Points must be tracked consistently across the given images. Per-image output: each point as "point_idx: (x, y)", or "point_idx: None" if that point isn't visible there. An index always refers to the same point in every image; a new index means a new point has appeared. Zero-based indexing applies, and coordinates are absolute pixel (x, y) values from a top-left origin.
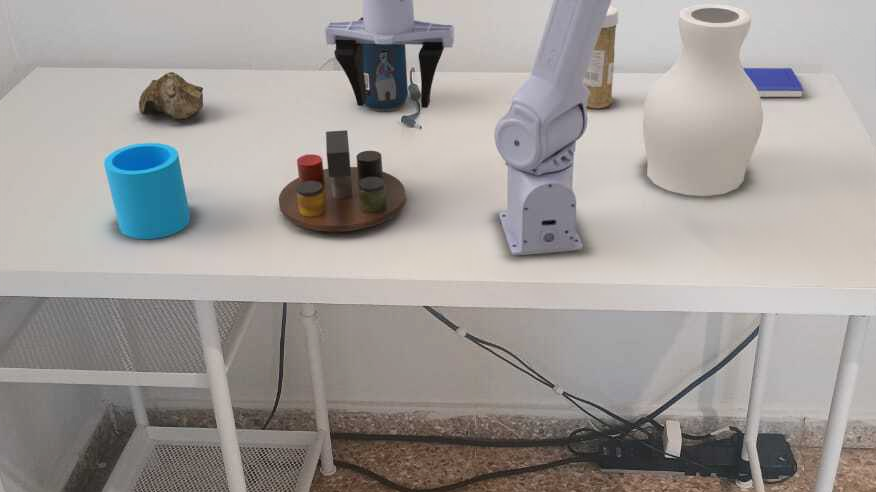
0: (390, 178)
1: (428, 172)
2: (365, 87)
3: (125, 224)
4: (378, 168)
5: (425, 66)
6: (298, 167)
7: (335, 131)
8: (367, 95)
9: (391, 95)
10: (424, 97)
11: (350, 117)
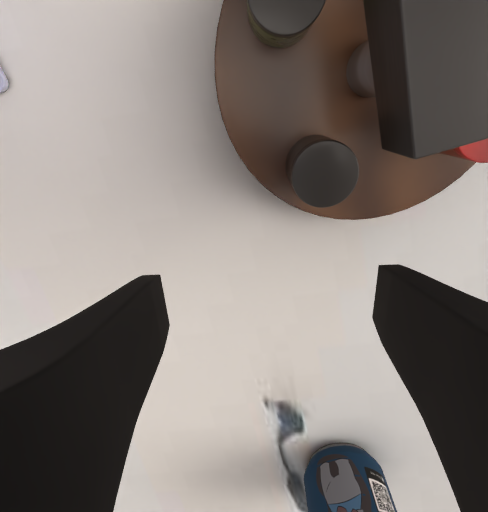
0: (269, 174)
1: (214, 259)
2: (388, 349)
3: None
4: (294, 154)
5: (4, 370)
6: None
7: (458, 141)
8: (369, 468)
9: (327, 470)
10: (128, 287)
11: (388, 423)
